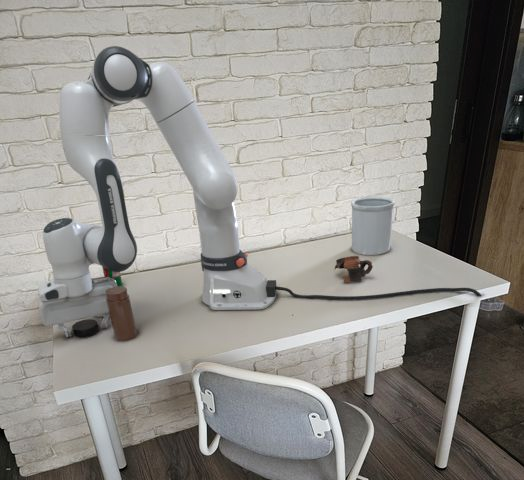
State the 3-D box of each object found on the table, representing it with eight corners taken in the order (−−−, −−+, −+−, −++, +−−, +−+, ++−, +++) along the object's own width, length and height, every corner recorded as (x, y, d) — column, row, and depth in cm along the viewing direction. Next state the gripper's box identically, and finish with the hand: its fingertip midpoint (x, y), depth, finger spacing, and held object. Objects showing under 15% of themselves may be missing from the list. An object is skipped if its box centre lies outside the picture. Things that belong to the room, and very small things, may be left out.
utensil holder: (367, 258, 167) (370, 208, 159) (341, 248, 179) (343, 200, 170) (399, 250, 173) (404, 201, 164) (372, 240, 185) (375, 194, 176)
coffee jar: (141, 331, 128) (131, 286, 122) (130, 341, 123) (120, 295, 117) (121, 329, 130) (111, 285, 123) (110, 340, 125) (99, 294, 118)
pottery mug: (334, 285, 150) (330, 259, 150) (340, 287, 158) (337, 263, 158) (373, 277, 145) (368, 250, 145) (377, 280, 154) (373, 255, 154)
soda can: (118, 289, 155) (110, 254, 149) (104, 289, 156) (95, 253, 150) (125, 283, 159) (117, 248, 153) (111, 283, 160) (103, 248, 154)
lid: (69, 332, 130) (67, 325, 129) (92, 324, 134) (90, 316, 133) (80, 340, 126) (78, 332, 125) (103, 331, 129) (101, 323, 128)
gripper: (112, 272, 129) (122, 318, 136) (31, 288, 121) (47, 336, 128) (117, 279, 124) (127, 326, 131) (33, 297, 116) (49, 346, 123)
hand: (87, 331), depth 129 cm, fingers open, 8 cm apart
